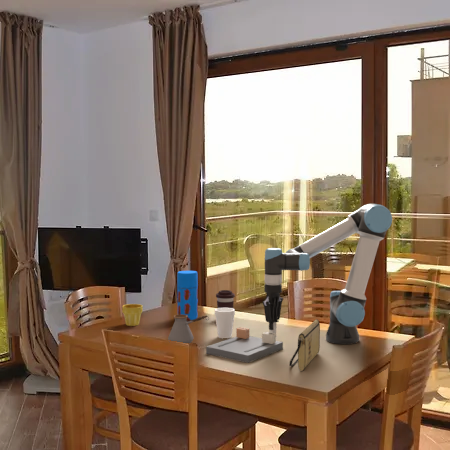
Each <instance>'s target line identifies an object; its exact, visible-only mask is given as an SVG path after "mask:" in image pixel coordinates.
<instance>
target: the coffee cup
mask: <svg viewBox="0 0 450 450" xmlns="http://www.w3.org/2000/svg"><path fill="white" fill-rule="evenodd" d="M235 295H236V294H235V293H234V292H233V291H232V290H227V289H223V290H219V291H218V293H216V294H215V297H216V299H217V300H216V305H217V308H233V309H234V302H235V301H234V298H235V297H236V296H235ZM217 308H216V309H217Z"/></svg>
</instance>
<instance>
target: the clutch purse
mask: <svg viewBox="0 0 450 450" xmlns="http://www.w3.org/2000/svg"><path fill="white" fill-rule="evenodd" d="M320 334H321V324H320V321H319V319H317V318H316V319H315V320H314V321H313V322H312V323H311V324H309V325H308V326H307V327H306V328H304V330H303V331H302V332H301V333H300V334H299V335H298V338H297V348H296V350H295V352H294V353H293V355H292V357H291V358H290V361H289V367H293V366H295V365H296V364H297V365H298V370H299V371H300V372H303V371H304V370H305V369H306V367H308V365H309V364H310V363H311V361H312V360H313V359H314V358H315V357H316V356H317V355H318V354H319V351H320V350H321V349H320V347H321V346H320V341H321V335H320ZM296 356H297V359H296V360H295V361H294V359H295V358H296Z"/></svg>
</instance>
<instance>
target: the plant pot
mask: <svg viewBox="0 0 450 450" xmlns="http://www.w3.org/2000/svg"><path fill="white" fill-rule="evenodd" d="M143 307H144V305H143V304H140V303H128V304H123V305H122V307H121V308H122V311H121V313H122V314H123V318H124V321H125V326H127V327H128V326H129V327H135V326H139V325H140V320H141V315H142V313H143V310H144V309H143Z"/></svg>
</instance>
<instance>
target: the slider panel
mask: <svg viewBox="0 0 450 450" xmlns="http://www.w3.org/2000/svg"><path fill="white" fill-rule="evenodd" d="M205 349H206V350H205V351H206V352H205V354H207V355H212V356H216V357H220V358H224V359H225V358H226V359H229V360H234V361H239V362H243V363H248V364H250V363H252V362H254V361H256V360H258V359H259V360H260V359H261V358H264V357H266V356H269V355H271V354H274V353H277V352H278V351H281V350H283V349H284V342H283V341H279V340H276V343H273V344H269V343H264V342H262V337H257V336H251V335H249V338H247V339H243V338H238V337H236V336H234V337H231V338H227V339H225V340H222V341H219V342H216V343H212V344H210V345H207V346H206V347H205Z"/></svg>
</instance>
